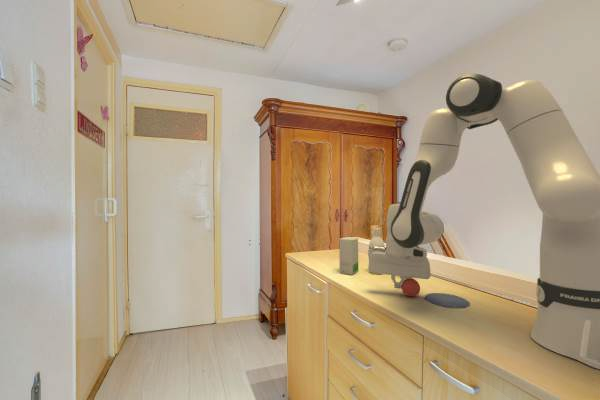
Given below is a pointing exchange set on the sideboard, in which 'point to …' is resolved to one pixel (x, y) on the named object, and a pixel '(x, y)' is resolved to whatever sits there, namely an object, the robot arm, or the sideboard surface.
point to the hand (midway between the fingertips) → (397, 288)
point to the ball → (410, 287)
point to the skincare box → (348, 255)
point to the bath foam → (376, 241)
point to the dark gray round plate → (447, 300)
